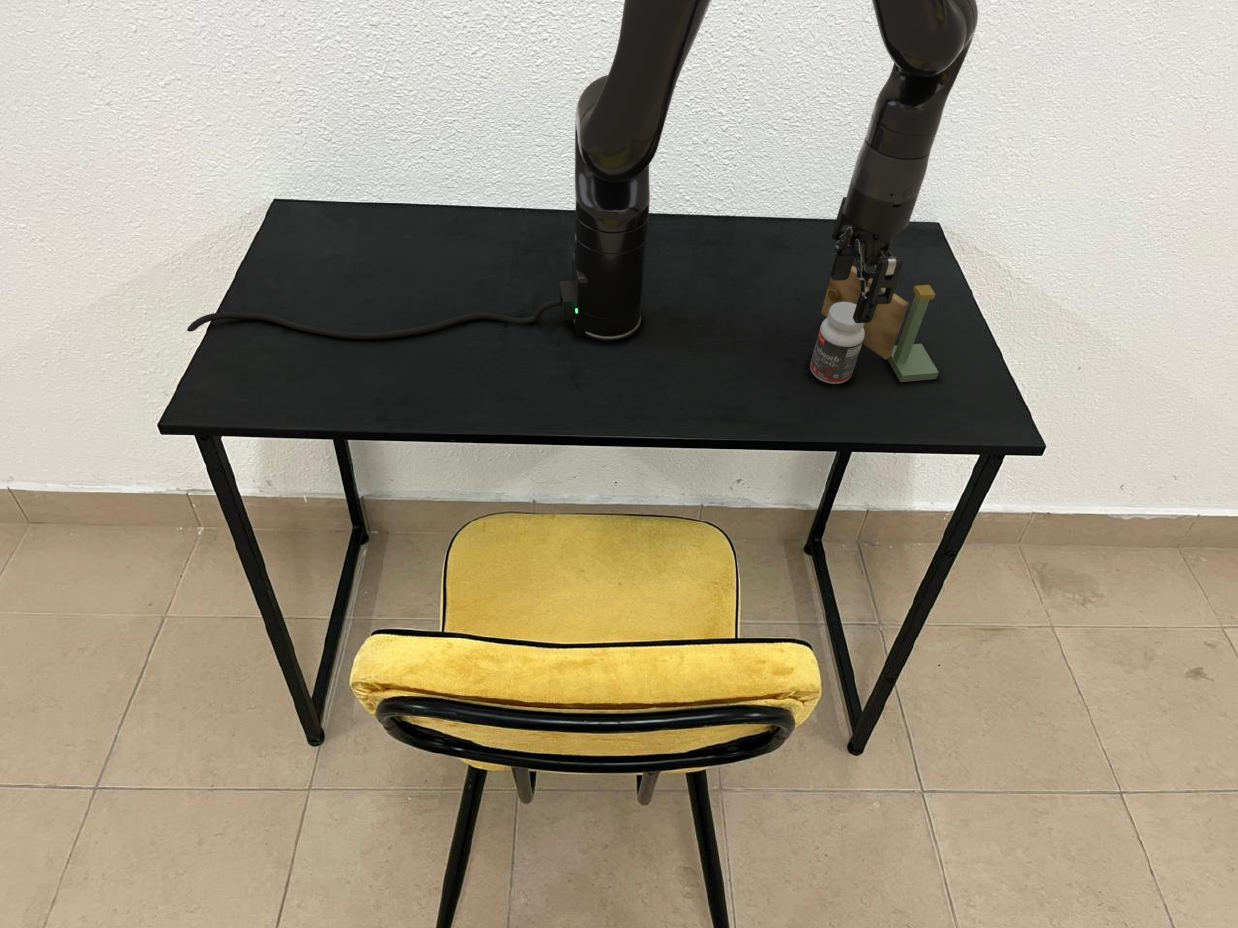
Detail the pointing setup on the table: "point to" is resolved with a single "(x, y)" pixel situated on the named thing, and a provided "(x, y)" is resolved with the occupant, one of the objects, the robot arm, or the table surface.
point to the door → (884, 320)
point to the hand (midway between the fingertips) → (849, 299)
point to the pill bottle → (837, 345)
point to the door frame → (911, 357)
